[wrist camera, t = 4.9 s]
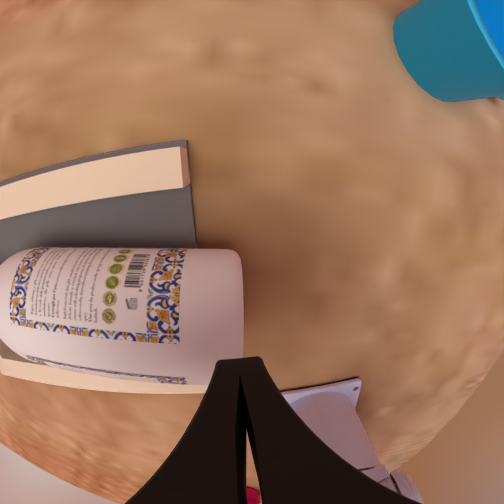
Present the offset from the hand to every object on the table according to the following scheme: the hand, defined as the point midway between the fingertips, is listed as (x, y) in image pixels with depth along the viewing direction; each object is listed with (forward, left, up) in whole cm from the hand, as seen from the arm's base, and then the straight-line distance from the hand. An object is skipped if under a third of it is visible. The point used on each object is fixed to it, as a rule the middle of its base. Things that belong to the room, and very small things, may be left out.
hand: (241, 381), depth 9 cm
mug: (+15, -18, -10) cm, 26 cm away
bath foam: (-1, 0, -6) cm, 6 cm away
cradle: (0, +12, -10) cm, 16 cm away
